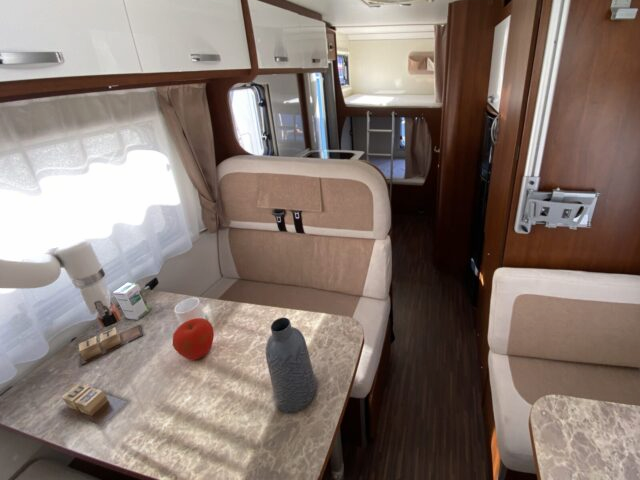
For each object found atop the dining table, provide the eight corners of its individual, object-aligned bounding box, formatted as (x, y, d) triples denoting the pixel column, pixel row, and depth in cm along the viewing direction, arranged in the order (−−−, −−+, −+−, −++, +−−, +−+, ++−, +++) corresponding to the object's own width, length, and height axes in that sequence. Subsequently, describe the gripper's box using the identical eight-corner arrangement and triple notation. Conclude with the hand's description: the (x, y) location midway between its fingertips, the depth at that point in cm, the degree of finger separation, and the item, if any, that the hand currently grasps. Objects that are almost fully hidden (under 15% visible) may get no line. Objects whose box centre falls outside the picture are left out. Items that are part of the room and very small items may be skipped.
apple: (172, 362, 104) (158, 332, 99) (202, 335, 114) (191, 307, 109) (198, 373, 100) (185, 343, 94) (226, 344, 110) (217, 315, 105)
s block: (119, 313, 106) (114, 303, 104) (120, 320, 103) (115, 310, 101) (103, 320, 104) (97, 310, 102) (103, 328, 100) (97, 317, 99)
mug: (176, 321, 121) (168, 301, 117) (198, 309, 127) (191, 290, 123) (186, 337, 114) (178, 316, 110) (209, 324, 120) (202, 303, 116)
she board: (129, 404, 92) (121, 391, 89) (104, 428, 85) (95, 416, 83) (90, 390, 96) (82, 378, 94) (63, 413, 90) (54, 400, 88)
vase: (324, 381, 96) (311, 313, 85) (302, 420, 85) (285, 349, 74) (292, 370, 100) (276, 304, 89) (267, 406, 89) (246, 336, 78)
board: (83, 366, 104) (76, 354, 102) (83, 354, 109) (76, 342, 107) (143, 337, 115) (137, 325, 113) (140, 327, 120) (135, 315, 117)
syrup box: (138, 321, 123) (125, 293, 117) (126, 319, 124) (112, 291, 118) (150, 310, 128) (138, 283, 122) (139, 309, 129) (126, 282, 123)
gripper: (75, 270, 100) (97, 312, 107) (70, 296, 88) (96, 341, 95) (104, 260, 104) (124, 301, 111) (103, 284, 92) (126, 328, 99)
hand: (111, 319), depth 103 cm, fingers closed on s block, 4 cm apart
